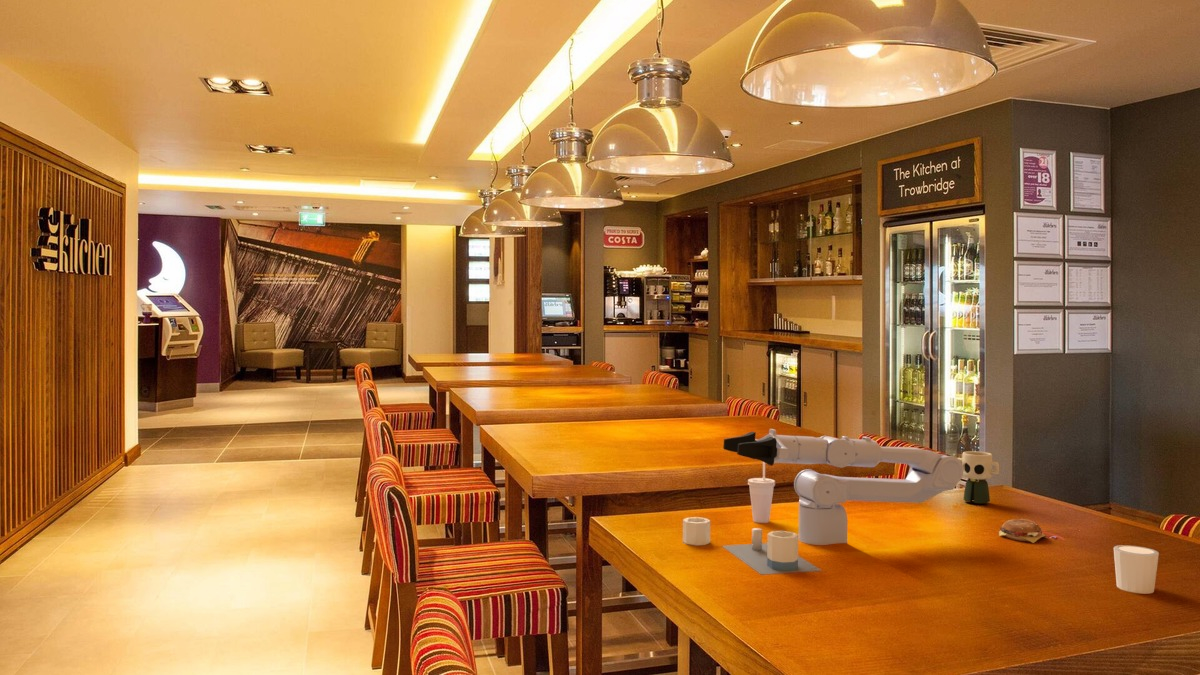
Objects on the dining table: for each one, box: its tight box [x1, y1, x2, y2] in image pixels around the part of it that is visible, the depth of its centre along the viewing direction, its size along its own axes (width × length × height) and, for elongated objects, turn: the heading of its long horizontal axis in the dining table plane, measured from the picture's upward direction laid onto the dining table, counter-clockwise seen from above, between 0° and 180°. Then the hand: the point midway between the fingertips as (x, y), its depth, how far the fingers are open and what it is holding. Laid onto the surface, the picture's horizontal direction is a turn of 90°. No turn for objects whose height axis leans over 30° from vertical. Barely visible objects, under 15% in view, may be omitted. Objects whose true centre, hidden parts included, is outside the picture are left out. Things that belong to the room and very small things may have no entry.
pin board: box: [721, 527, 823, 576], centre depth 166 cm, size 12×20×6 cm, turn 13°
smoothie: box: [747, 461, 776, 524], centre depth 202 cm, size 6×6×14 cm
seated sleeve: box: [766, 530, 799, 571], centre depth 161 cm, size 5×5×6 cm
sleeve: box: [682, 516, 711, 547], centre depth 178 cm, size 5×5×6 cm
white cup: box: [1113, 544, 1160, 595], centre depth 153 cm, size 7×7×7 cm
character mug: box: [957, 450, 1000, 505], centre depth 223 cm, size 11×7×13 cm, turn 46°
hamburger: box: [998, 518, 1066, 544], centre depth 189 cm, size 14×14×6 cm
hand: (730, 446), depth 175 cm, fingers open, 7 cm apart
